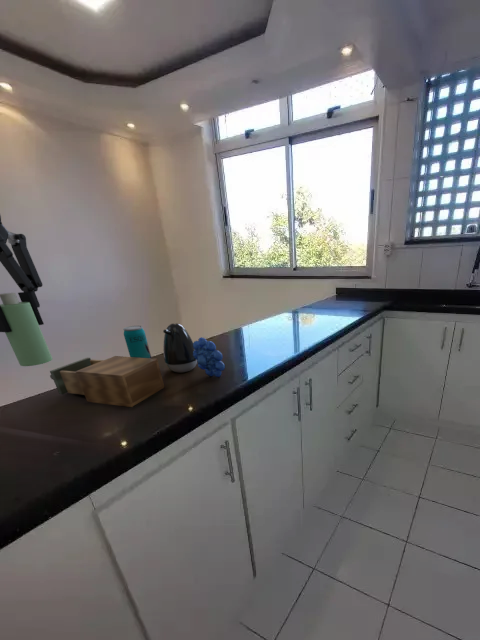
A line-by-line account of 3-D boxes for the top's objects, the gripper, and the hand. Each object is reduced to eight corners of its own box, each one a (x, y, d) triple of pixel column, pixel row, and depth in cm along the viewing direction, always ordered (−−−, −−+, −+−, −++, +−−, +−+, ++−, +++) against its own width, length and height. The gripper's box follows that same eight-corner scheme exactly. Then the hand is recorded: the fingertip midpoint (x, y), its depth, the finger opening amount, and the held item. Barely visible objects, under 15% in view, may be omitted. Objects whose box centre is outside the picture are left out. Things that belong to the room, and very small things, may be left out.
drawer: (47, 392, 86) (37, 369, 83) (84, 377, 96) (76, 356, 93) (97, 398, 81) (88, 374, 78) (130, 382, 91) (123, 360, 88)
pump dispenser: (160, 374, 98) (148, 326, 91) (179, 363, 107) (169, 319, 100) (188, 376, 96) (178, 327, 89) (205, 365, 105) (197, 319, 98)
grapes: (187, 378, 95) (179, 339, 89) (203, 370, 100) (196, 334, 95) (215, 384, 89) (208, 343, 84) (231, 376, 95) (225, 337, 89)
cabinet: (87, 401, 82) (75, 371, 78) (123, 383, 93) (115, 355, 89) (131, 407, 78) (121, 375, 74) (164, 387, 89) (157, 358, 85)
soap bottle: (13, 365, 65) (-20, 295, 58) (40, 357, 69) (12, 291, 63) (32, 367, 63) (1, 295, 57) (58, 358, 68) (32, 291, 62)
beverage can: (156, 375, 98) (144, 327, 91) (136, 379, 95) (122, 330, 89) (154, 369, 102) (142, 324, 96) (135, 373, 100) (121, 327, 93)
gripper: (-100, 180, 44) (-19, 341, 54) (34, 197, 60) (77, 318, 70) (-130, 185, 46) (-47, 339, 56) (7, 200, 62) (52, 318, 72)
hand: (21, 327), depth 63 cm, fingers closed on soap bottle, 6 cm apart
